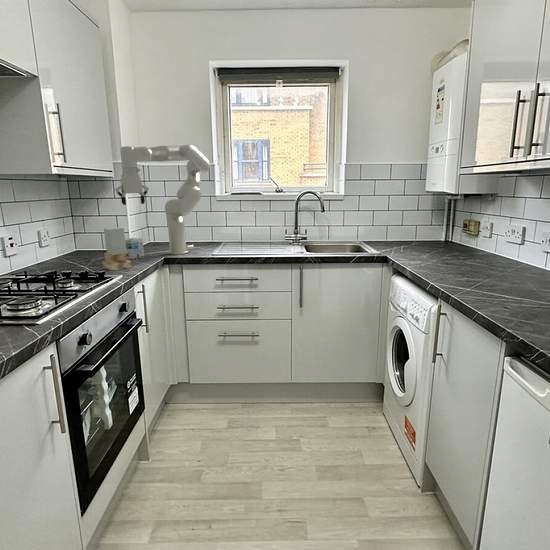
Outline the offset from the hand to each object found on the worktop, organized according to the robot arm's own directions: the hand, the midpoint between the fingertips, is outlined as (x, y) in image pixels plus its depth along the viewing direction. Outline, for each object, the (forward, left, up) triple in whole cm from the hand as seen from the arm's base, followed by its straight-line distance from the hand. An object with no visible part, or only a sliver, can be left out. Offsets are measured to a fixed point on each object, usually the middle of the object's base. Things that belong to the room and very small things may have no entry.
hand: (133, 204), depth 207 cm
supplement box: (+15, +14, -23) cm, 31 cm away
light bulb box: (0, -9, -31) cm, 32 cm away
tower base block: (+16, +14, -31) cm, 37 cm away
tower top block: (+16, +14, -27) cm, 34 cm away
